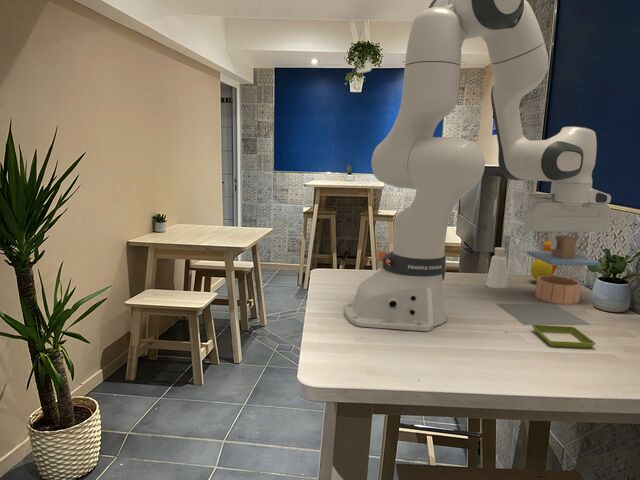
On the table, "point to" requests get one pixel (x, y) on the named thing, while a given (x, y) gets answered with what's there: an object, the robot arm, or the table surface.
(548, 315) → the mat
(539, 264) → the lemon
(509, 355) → the table surface
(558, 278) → the bowl
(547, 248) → the carrot
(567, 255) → the lid
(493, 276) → the salt shaker
